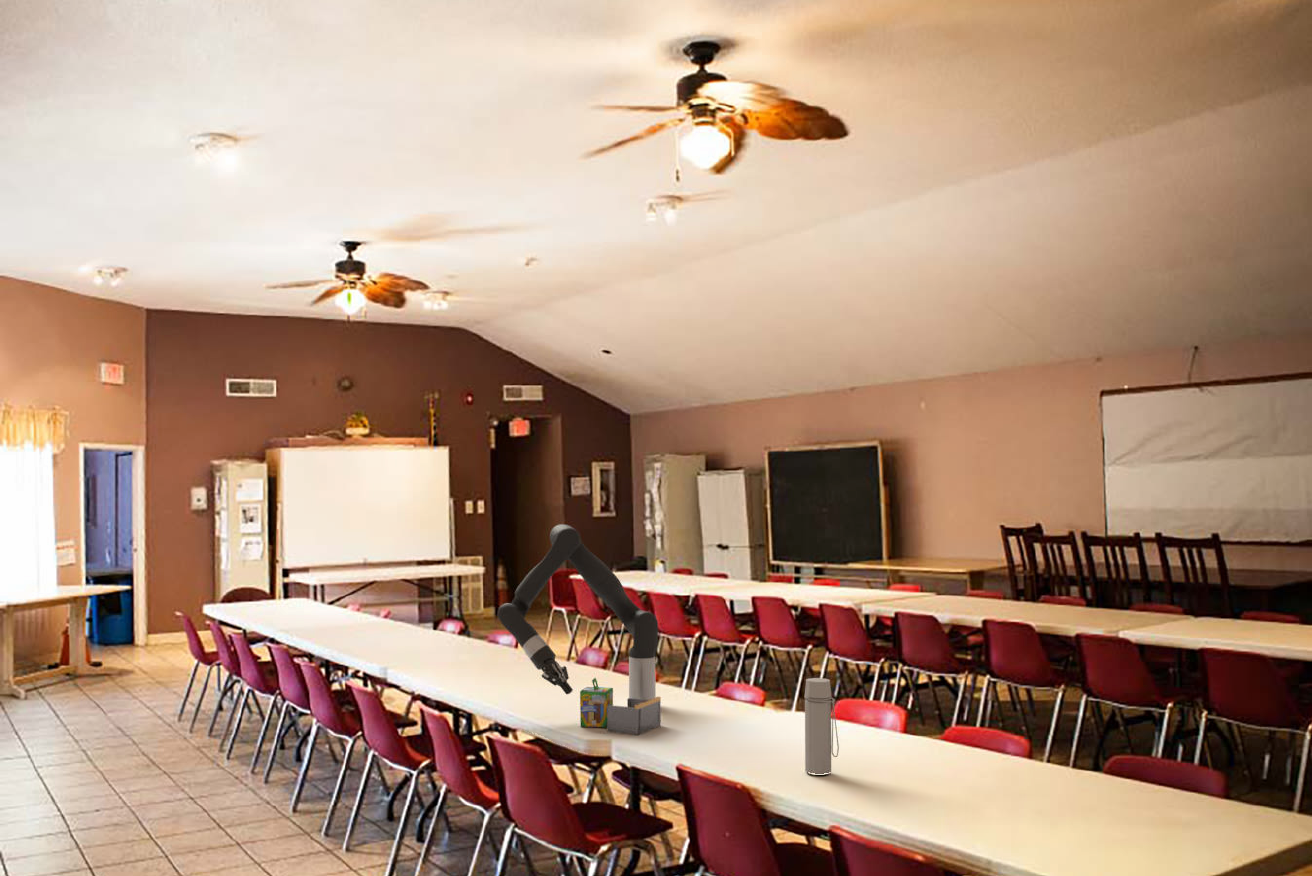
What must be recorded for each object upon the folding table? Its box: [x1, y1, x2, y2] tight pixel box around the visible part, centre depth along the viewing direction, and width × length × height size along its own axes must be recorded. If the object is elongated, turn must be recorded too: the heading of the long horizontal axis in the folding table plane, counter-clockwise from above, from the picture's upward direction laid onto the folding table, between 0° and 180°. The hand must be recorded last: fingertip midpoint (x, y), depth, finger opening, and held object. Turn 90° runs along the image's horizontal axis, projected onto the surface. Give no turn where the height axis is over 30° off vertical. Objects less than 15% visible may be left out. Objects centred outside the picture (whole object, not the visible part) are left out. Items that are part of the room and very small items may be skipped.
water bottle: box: [804, 677, 840, 774], centre depth 308 cm, size 9×8×25 cm
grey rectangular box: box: [606, 696, 662, 736], centre depth 365 cm, size 16×11×9 cm
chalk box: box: [579, 677, 614, 728], centre depth 371 cm, size 9×9×15 cm
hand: (570, 692), depth 375 cm, fingers closed
